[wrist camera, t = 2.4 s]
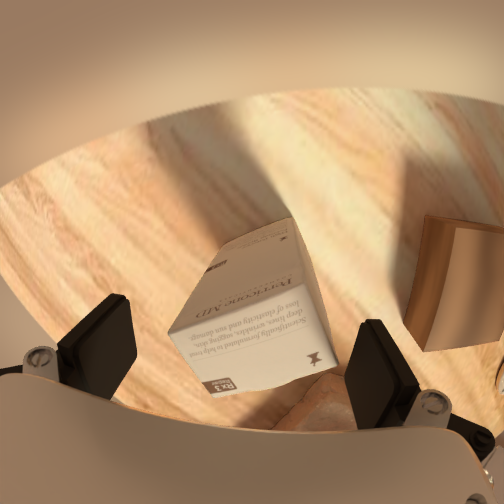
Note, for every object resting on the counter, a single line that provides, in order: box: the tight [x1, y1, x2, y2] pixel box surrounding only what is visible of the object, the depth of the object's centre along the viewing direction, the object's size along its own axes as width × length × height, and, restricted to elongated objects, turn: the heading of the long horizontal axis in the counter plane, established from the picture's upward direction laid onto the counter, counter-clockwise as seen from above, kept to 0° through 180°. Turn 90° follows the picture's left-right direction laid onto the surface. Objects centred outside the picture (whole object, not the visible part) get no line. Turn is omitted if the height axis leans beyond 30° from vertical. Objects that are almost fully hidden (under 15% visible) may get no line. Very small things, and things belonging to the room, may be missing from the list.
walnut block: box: [403, 215, 504, 352], centre depth 18 cm, size 10×10×5 cm
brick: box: [271, 373, 358, 431], centre depth 25 cm, size 17×8×5 cm, turn 154°
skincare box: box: [168, 217, 339, 398], centre depth 16 cm, size 6×4×12 cm
